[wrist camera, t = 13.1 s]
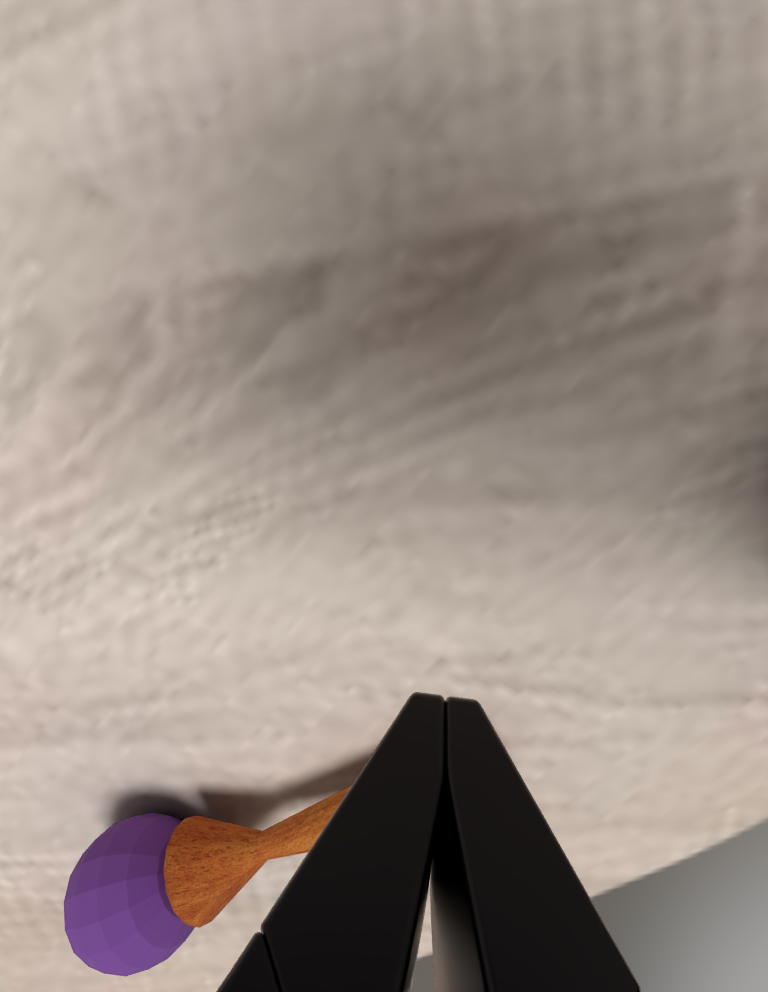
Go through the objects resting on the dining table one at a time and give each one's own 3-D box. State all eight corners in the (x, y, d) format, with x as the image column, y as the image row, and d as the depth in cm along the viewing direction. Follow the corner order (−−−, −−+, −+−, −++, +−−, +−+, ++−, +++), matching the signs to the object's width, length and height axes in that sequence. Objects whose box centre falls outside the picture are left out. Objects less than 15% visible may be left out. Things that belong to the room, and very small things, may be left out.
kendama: (532, 885, 21) (110, 1009, 25) (497, 741, 26) (151, 865, 30) (467, 807, 18) (4, 962, 22) (442, 663, 23) (69, 812, 28)
